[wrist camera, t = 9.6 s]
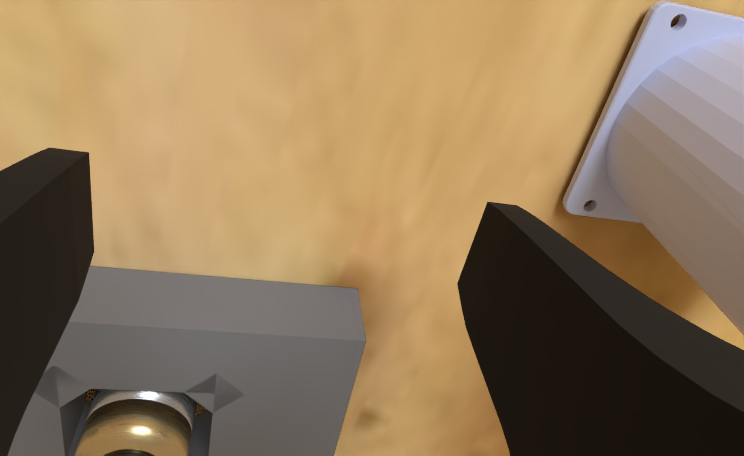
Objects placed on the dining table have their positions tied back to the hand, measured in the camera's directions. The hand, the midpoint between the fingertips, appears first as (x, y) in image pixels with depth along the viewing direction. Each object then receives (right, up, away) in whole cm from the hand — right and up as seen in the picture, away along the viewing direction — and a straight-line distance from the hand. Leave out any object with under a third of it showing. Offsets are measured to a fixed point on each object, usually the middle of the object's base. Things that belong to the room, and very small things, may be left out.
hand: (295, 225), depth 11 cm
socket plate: (-8, -7, +15) cm, 18 cm away
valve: (-8, -6, +15) cm, 18 cm away
